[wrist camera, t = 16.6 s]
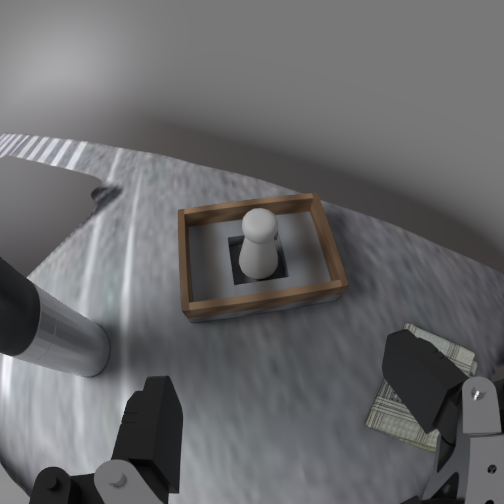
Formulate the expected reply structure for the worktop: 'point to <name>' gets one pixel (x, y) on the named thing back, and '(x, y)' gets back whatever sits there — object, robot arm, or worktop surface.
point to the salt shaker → (259, 244)
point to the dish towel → (393, 409)
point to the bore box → (230, 233)
